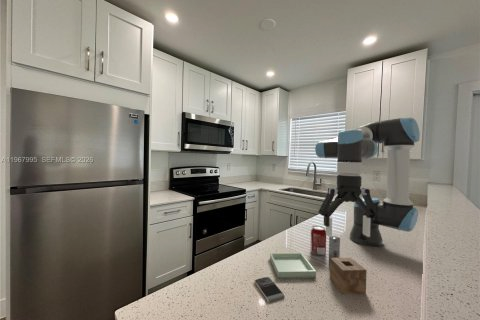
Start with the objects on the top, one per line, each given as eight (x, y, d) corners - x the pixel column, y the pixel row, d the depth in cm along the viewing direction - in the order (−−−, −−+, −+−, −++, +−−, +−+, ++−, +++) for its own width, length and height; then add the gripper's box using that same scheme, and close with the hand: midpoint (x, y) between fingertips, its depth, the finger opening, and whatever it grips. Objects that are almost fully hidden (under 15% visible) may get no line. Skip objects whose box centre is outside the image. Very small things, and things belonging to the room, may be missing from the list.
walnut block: (350, 279, 72) (351, 257, 72) (365, 294, 64) (366, 269, 64) (329, 279, 72) (330, 257, 72) (342, 294, 64) (343, 270, 64)
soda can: (327, 257, 88) (327, 230, 88) (311, 255, 89) (312, 229, 89) (324, 250, 95) (324, 225, 94) (309, 248, 96) (309, 224, 96)
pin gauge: (335, 264, 82) (336, 235, 82) (341, 269, 78) (342, 239, 78) (326, 264, 82) (327, 235, 82) (331, 269, 78) (332, 239, 78)
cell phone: (268, 279, 71) (268, 275, 71) (285, 300, 61) (285, 296, 61) (253, 283, 69) (253, 279, 69) (268, 305, 59) (268, 300, 59)
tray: (301, 258, 86) (301, 252, 86) (315, 277, 72) (316, 271, 72) (270, 258, 86) (270, 253, 86) (278, 278, 71) (278, 271, 71)
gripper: (375, 174, 72) (373, 231, 72) (309, 173, 71) (308, 231, 71) (392, 176, 65) (390, 239, 65) (319, 175, 63) (317, 240, 63)
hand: (347, 235), depth 68 cm, fingers open, 13 cm apart
